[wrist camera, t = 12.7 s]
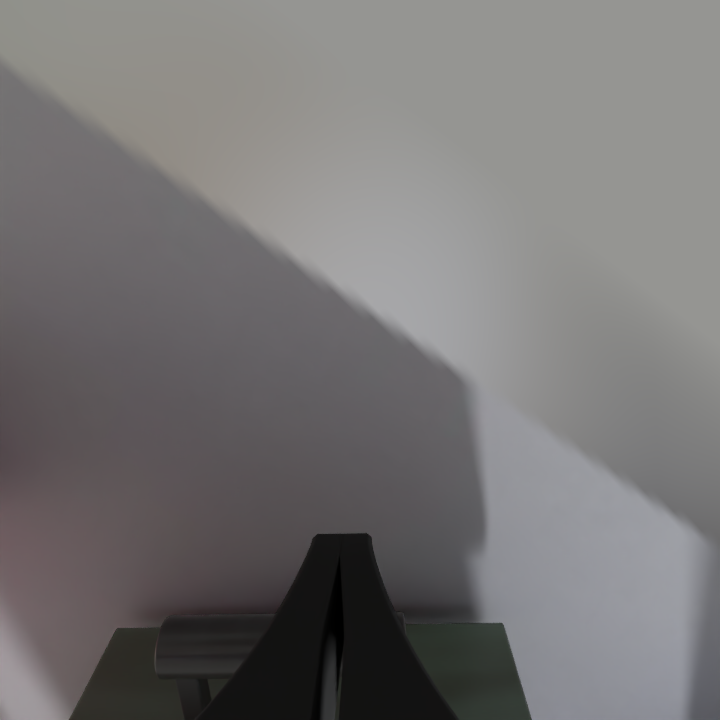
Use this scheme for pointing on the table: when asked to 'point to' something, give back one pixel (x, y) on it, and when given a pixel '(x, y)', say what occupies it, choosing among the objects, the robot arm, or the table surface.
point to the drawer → (238, 637)
